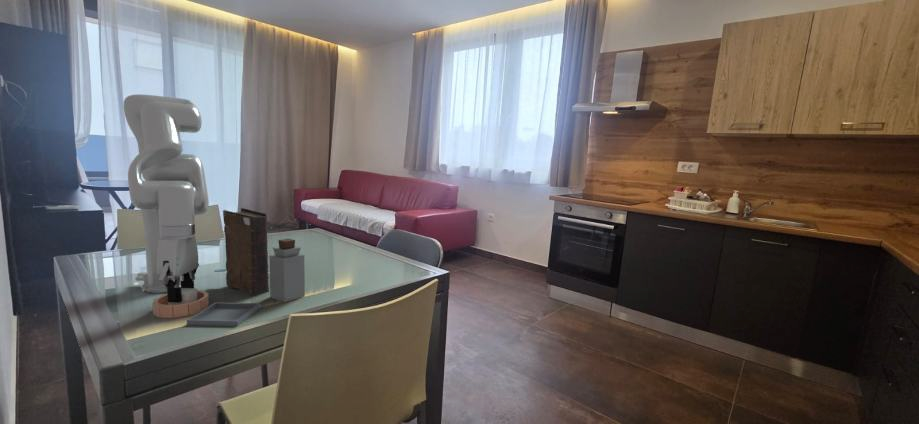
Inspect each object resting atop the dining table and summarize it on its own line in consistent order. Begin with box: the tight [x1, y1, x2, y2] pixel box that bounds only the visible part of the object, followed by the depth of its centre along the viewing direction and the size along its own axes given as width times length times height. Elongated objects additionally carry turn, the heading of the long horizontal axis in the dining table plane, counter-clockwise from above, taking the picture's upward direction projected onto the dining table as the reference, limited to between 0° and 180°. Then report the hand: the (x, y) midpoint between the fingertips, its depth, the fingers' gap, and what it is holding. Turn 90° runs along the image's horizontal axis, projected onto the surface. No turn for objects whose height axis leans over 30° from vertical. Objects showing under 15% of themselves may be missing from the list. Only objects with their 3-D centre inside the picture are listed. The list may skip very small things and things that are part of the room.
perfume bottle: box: [268, 238, 306, 303], centre depth 116 cm, size 7×7×18 cm
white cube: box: [168, 287, 198, 305], centre depth 105 cm, size 5×4×5 cm
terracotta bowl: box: [152, 289, 210, 319], centre depth 105 cm, size 12×12×4 cm
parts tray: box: [186, 301, 261, 327], centre depth 102 cm, size 12×12×2 cm
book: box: [222, 207, 270, 295], centre depth 122 cm, size 17×7×25 cm, turn 50°
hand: (181, 297), depth 105 cm, fingers open, 4 cm apart
